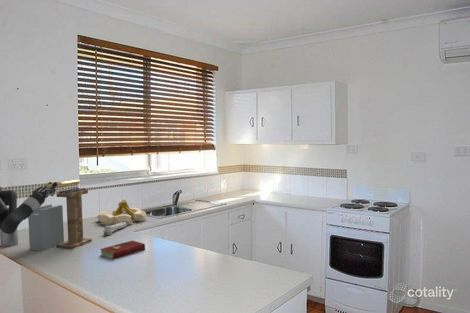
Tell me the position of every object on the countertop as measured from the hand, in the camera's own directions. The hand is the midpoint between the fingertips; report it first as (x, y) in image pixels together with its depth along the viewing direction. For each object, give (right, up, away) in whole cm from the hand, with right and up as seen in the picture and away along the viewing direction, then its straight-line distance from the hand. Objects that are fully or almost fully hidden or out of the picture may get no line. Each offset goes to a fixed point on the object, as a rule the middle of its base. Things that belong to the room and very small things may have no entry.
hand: (53, 183), depth 216 cm
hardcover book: (+40, -39, -2) cm, 56 cm away
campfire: (+16, -35, +77) cm, 86 cm away
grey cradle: (-10, -38, +12) cm, 41 cm away
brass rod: (+2, -3, +7) cm, 8 cm away
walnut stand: (+5, -38, +16) cm, 41 cm away
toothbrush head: (+21, -36, +46) cm, 62 cm away
